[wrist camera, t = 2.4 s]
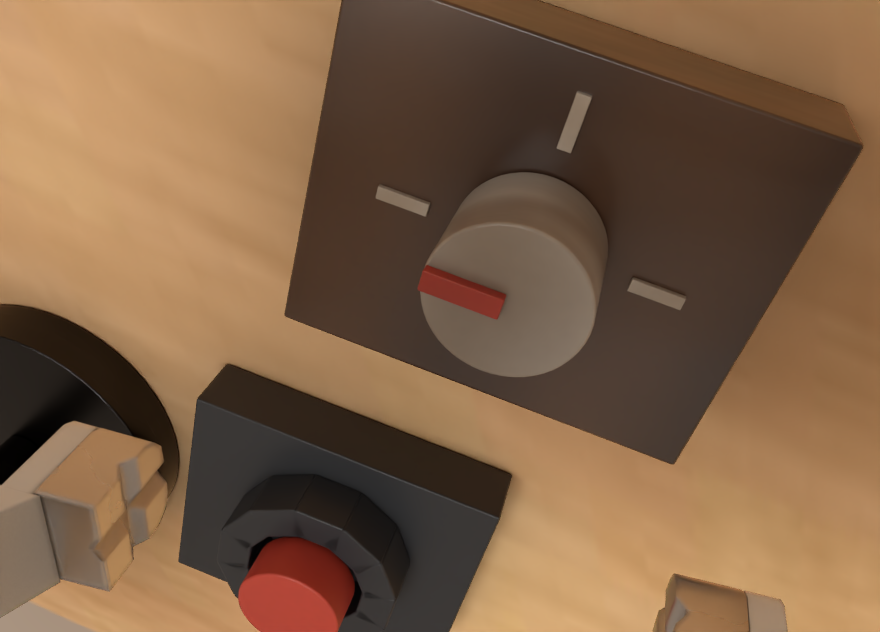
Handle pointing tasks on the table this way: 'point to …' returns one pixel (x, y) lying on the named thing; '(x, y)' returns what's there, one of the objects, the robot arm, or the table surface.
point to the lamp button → (296, 588)
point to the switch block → (336, 501)
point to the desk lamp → (69, 389)
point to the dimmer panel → (579, 165)
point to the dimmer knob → (517, 276)
